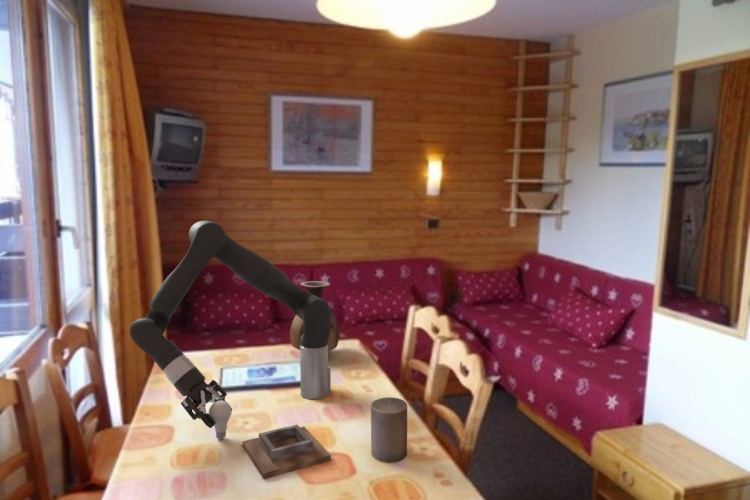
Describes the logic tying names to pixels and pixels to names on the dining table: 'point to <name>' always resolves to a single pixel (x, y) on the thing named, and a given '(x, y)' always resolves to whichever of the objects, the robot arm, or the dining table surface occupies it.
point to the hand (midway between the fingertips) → (221, 419)
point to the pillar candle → (389, 429)
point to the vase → (298, 323)
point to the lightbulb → (220, 417)
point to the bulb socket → (285, 451)
